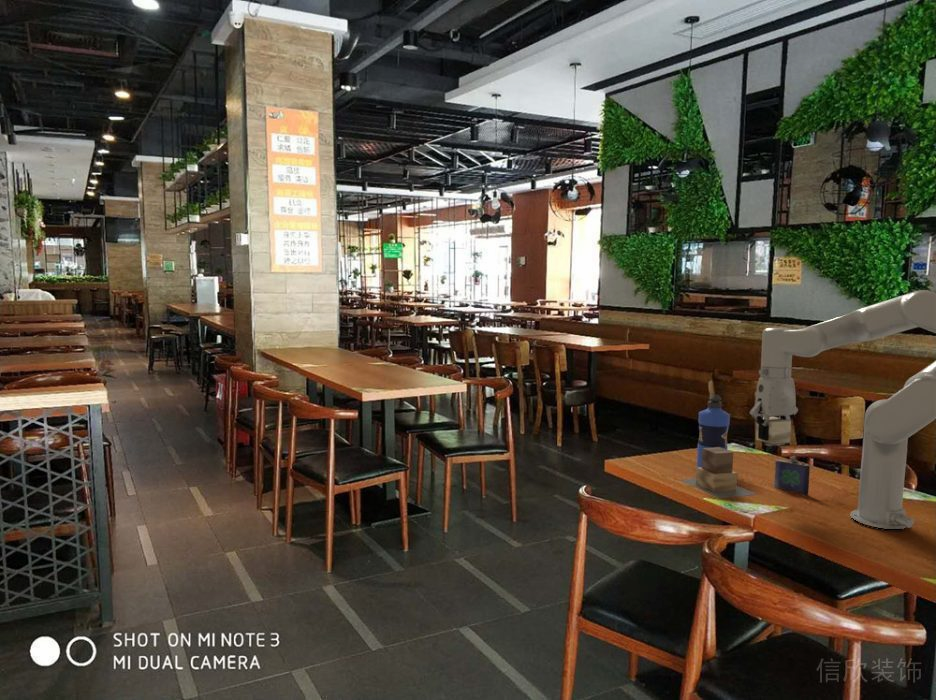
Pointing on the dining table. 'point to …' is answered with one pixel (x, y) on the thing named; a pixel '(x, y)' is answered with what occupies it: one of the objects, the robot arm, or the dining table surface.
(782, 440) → the birch cube
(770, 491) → the dining table surface
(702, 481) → the base block
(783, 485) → the flask
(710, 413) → the water bottle
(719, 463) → the walnut cube
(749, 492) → the slate board
